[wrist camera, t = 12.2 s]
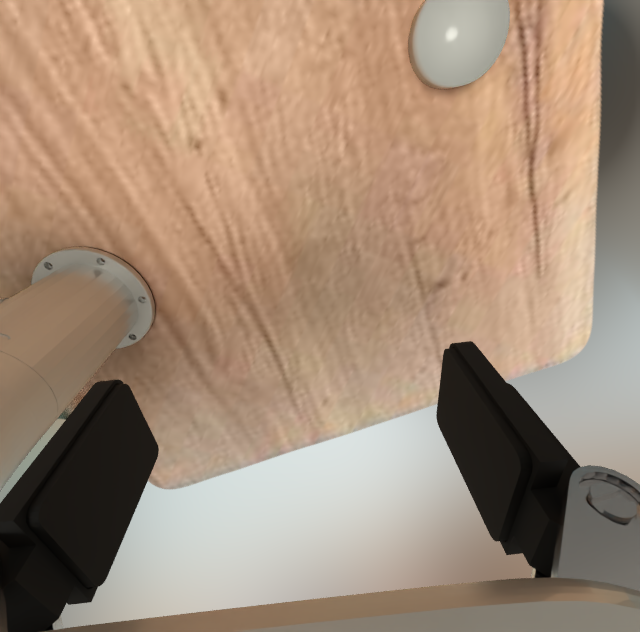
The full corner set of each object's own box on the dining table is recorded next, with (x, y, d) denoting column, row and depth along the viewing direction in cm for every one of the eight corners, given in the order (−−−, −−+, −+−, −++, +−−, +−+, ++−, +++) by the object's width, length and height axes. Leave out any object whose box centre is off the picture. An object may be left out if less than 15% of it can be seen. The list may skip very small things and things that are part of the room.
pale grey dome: (405, 92, 30) (415, 89, 28) (410, -13, 27) (421, -28, 24) (482, 86, 30) (499, 82, 28) (497, -21, 27) (518, -36, 24)
